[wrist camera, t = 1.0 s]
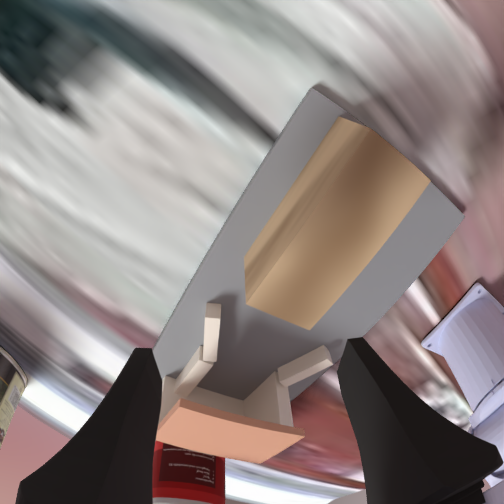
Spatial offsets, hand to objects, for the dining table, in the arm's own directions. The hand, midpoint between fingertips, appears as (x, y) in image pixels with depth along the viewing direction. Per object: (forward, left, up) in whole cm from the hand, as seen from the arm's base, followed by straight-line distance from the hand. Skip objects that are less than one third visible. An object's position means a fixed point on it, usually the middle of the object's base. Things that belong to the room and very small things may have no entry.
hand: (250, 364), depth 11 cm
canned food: (-6, +23, -10) cm, 26 cm away
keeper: (-5, +4, -10) cm, 12 cm away
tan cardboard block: (-2, -4, -9) cm, 10 cm away
